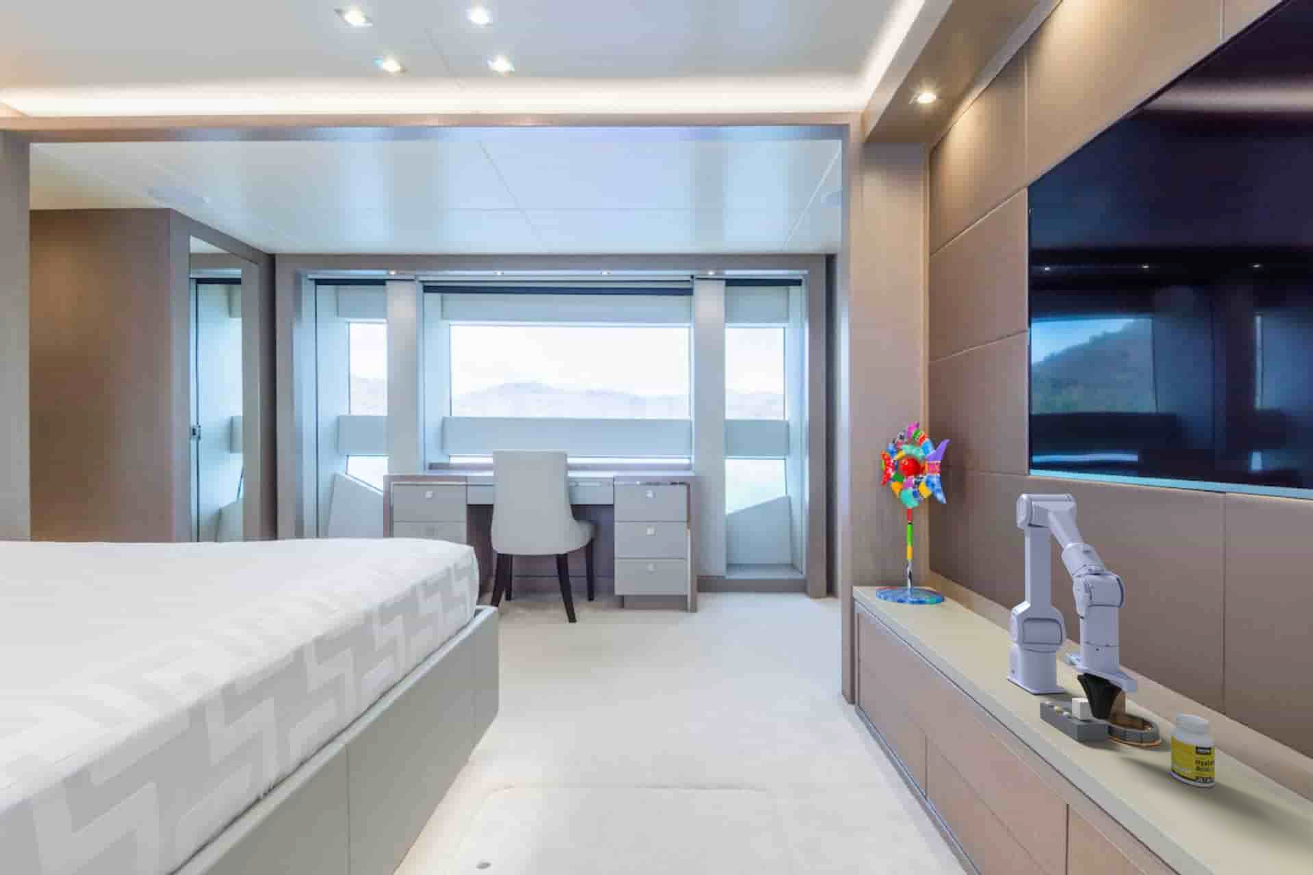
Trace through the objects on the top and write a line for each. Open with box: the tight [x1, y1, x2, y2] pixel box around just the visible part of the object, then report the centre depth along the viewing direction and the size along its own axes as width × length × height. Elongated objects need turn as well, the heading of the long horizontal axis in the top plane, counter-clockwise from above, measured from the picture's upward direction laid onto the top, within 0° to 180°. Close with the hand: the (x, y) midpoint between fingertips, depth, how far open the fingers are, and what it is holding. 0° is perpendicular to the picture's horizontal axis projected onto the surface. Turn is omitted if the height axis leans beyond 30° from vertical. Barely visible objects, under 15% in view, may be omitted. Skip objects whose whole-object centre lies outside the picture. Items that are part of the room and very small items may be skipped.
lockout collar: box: [1101, 711, 1163, 747], centre depth 119 cm, size 10×10×2 cm
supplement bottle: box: [1170, 713, 1216, 788], centre depth 103 cm, size 5×5×10 cm
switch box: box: [1039, 700, 1109, 742], centre depth 122 cm, size 10×6×4 cm, turn 4°
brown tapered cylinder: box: [1111, 689, 1127, 713], centre depth 128 cm, size 4×4×5 cm
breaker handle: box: [1071, 697, 1092, 720], centre depth 119 cm, size 2×2×3 cm
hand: (1100, 717), depth 115 cm, fingers closed
